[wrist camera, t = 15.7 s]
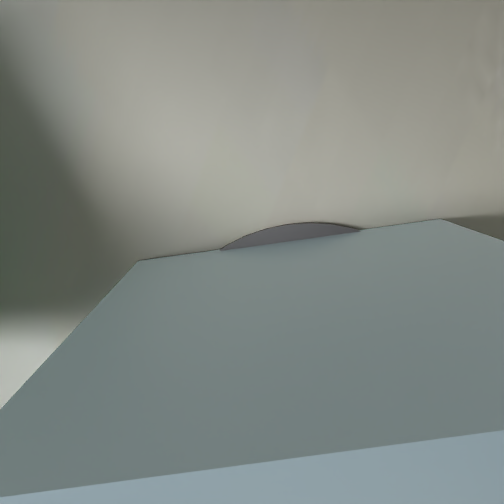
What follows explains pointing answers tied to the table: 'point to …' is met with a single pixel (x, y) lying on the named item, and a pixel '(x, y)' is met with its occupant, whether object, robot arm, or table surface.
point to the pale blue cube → (277, 379)
